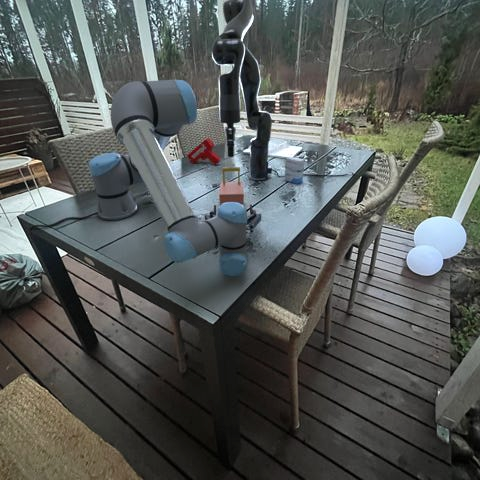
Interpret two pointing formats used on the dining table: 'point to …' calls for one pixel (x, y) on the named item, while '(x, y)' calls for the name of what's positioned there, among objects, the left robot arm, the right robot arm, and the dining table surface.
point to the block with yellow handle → (231, 185)
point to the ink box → (294, 170)
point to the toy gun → (204, 152)
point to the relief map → (280, 150)
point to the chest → (232, 200)
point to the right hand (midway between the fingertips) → (230, 153)
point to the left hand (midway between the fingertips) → (233, 208)
